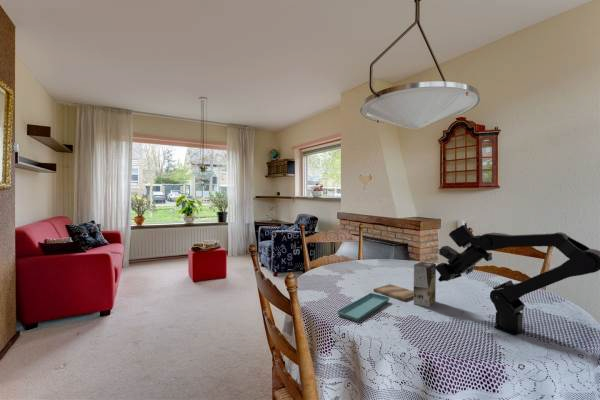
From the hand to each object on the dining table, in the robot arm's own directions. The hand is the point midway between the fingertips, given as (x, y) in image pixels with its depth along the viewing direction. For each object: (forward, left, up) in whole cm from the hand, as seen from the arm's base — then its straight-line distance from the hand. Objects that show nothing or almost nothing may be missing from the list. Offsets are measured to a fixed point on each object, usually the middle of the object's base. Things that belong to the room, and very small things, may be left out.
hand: (439, 280), depth 117 cm
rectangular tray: (+13, +27, -11) cm, 32 cm away
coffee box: (+6, +1, -11) cm, 13 cm away
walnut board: (+20, +3, -11) cm, 23 cm away
